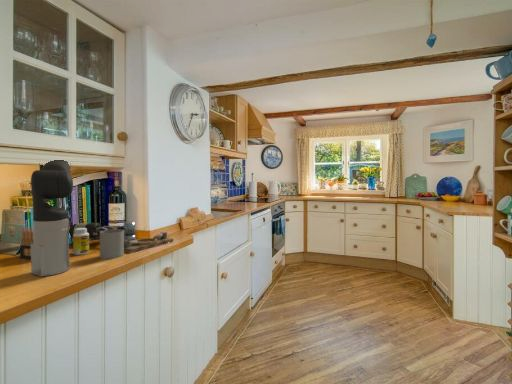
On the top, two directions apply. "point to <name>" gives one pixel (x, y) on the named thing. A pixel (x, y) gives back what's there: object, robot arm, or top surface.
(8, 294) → the top surface
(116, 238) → the cup
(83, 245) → the supplement bottle
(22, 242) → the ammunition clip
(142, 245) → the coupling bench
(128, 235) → the universal joint
